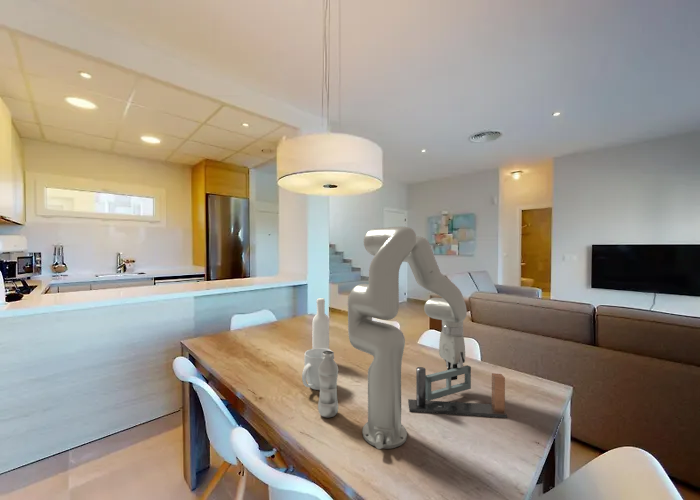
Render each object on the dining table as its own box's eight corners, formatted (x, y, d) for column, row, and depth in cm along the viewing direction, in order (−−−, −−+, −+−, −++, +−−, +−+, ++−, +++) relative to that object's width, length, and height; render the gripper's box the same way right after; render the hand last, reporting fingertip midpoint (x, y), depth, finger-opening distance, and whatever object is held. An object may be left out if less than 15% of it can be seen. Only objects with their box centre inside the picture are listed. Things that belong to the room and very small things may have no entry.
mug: (315, 400, 104) (315, 363, 104) (291, 393, 109) (291, 357, 109) (338, 383, 117) (338, 350, 117) (315, 377, 122) (315, 346, 122)
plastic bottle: (327, 407, 99) (327, 347, 99) (342, 414, 95) (342, 352, 95) (313, 415, 94) (313, 353, 94) (329, 423, 90) (328, 357, 90)
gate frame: (506, 417, 93) (506, 376, 93) (409, 411, 96) (409, 371, 96) (499, 407, 99) (499, 368, 99) (408, 402, 102) (408, 364, 102)
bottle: (311, 360, 141) (311, 297, 141) (327, 359, 143) (327, 297, 143) (313, 367, 133) (313, 300, 133) (330, 365, 135) (330, 299, 135)
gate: (427, 401, 99) (427, 377, 99) (424, 399, 101) (424, 375, 101) (470, 388, 108) (470, 366, 108) (467, 386, 109) (467, 365, 109)
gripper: (432, 325, 116) (432, 372, 116) (457, 336, 102) (457, 389, 102) (448, 324, 119) (448, 370, 119) (474, 334, 104) (474, 386, 104)
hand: (452, 379), depth 110 cm, fingers closed
